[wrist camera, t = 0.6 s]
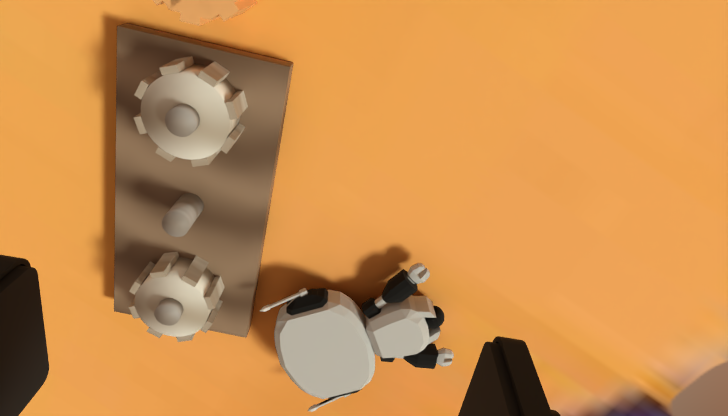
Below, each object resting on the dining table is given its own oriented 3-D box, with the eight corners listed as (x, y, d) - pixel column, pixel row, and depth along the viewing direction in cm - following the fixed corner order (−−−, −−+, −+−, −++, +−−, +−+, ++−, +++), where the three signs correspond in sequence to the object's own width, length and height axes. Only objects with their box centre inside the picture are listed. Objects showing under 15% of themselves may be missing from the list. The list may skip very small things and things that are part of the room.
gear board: (127, 23, 37) (86, 34, 32) (293, 62, 37) (279, 80, 33) (121, 300, 48) (91, 341, 43) (250, 326, 49) (234, 369, 44)
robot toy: (422, 239, 45) (260, 284, 46) (430, 267, 41) (252, 316, 42) (453, 345, 50) (306, 383, 51) (462, 379, 46) (303, 419, 47)
